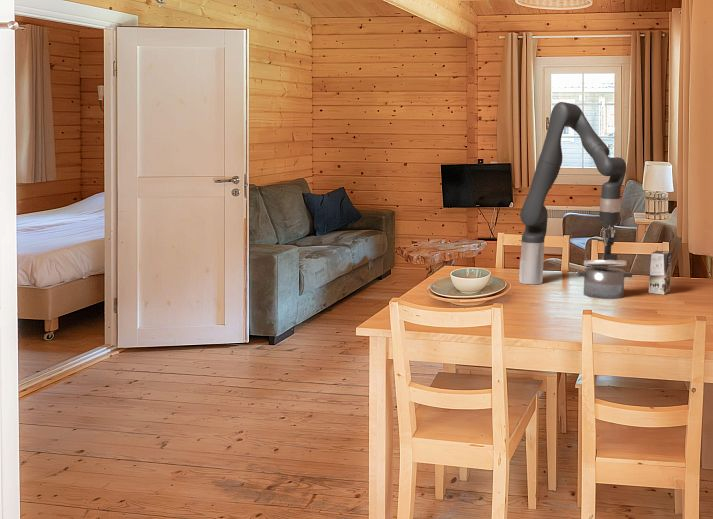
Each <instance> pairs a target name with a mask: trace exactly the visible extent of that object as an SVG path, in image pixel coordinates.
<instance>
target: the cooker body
mask: <svg viewBox="0 0 713 519" xmlns="http://www.w3.org/2000/svg"><path fill="white" fill-rule="evenodd" d="M576 276H577V277H581V278H582V277H583V292H582V293H583V296H585V297H590V298H594V299H603V300H611V299H612V300H614V299H621V298H623V297H624V292H625V291H624V290H625V289H624V288H625V278H633V272H631V271H625V269H623V268H620V267H619V268H618V267H615V266H587V267H585V268H584V271H583V270H582V271H581V270H577V271H576Z"/></svg>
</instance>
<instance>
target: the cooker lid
mask: <svg viewBox="0 0 713 519" xmlns="http://www.w3.org/2000/svg"><path fill="white" fill-rule="evenodd" d="M627 263H628V261H627V260H625V259H624V260H623V259H618V254H613V253H611V254H604V253H603V254H602V256H601V259H589V260H588V259H587V260H583V266H587V267H591V266H608V267H623V266H624V267H625V266H628V265H627Z"/></svg>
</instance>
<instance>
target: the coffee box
mask: <svg viewBox="0 0 713 519" xmlns="http://www.w3.org/2000/svg"><path fill="white" fill-rule="evenodd" d="M650 256H651V257H650V264H649V265H650V267H649V281H648V282H649V284H648V293H649V294H656V295H667V294H668V293H670V291H671V278H672V277H671V276H672V262H673V251H670V250H669V251H668V250H655V251H653V252H651V254H650Z"/></svg>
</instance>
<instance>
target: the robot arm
mask: <svg viewBox="0 0 713 519" xmlns="http://www.w3.org/2000/svg"><path fill="white" fill-rule="evenodd" d="M565 127H567V128H571V129H572V130H573V131H575V132H576V133H577V134H578V136H579V138H580V142H581V145H582V146H583V148H584V151H585V152H586V153H587V154H588V155H589V156H590V157H591V159H592V160H593V163H594V165H595V167H596V170H597V172H599V173H600V174H601V175H602V176H605V177H608V181H606V182H604V183H603V184H602V185H601V190H600V191H601V193H600V201H599V202H600V203H599V218H598V219H599V220H598V221H599V223H600V224H603V227H602V228H601V231H600V232H601V236H602V243H603V245H604V248H603V249H604V250H603V251H604V252H603V254H612V246H614V243H615V240H616V236H617V233H616V227H615V224H619V223H620V221H621V220H620V219H621V193H622V192H621V190H622V186H623V182H624V180H625V176H626V173H627V163H626V161H625V159H623V158H622V157H619V156H618V157H617V156H616V157H615V156H614V157H613V156H612V157H610V148H609V147H608V146H607V144H606V143H605V142H604V141H603V140H602V139H601V137H600V136H599V134H597V133H596V132H595V130H594V129H593V127H592V126H591V124H590V122H589V121H588V119H587V117H586V116H585V114H584V112H583V110H582V109H581V107H579V105H578V104H574V103H569V102H565V101H559V102H557V103H555V105H554V106H553V108H552V110H551V113H550V117H549V122H548V127H547V130H546V135H545V138H544V142H543V145H542V149H541V151H540V154H539V158H538V161H537V164H536V167H535V171H534V174H533V176H532V181H531V184H530V188H529V190H528V194H527V196H526V198H525V200H524V202H523V205H522V207H521V210H520V211H519V212H520V214H519V216H520V220H521V222H522V224H524V231H523V233H522V234H521V245H520V246H521V249H520V258H519V271H518V273H519V275H518V276H519V277H518V282H519V283H520V284H522V285H523V284H525V285H542V284H543V281H544V280H543V279H544V278H543V276H544V256H545V238H546V236H547V228H548V216H549V215H548V209H547V207H546V206H545V200H546V197H547V195H548V193H549V191H550V190H551V188H552V186H553V185H554V184H555V181H556V180H557V178H558V176H559V173H560V170H561V167H562V163H563V158H564V157H563V151H562V150H563V149H562V136H563V132H564V130H565Z"/></svg>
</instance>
